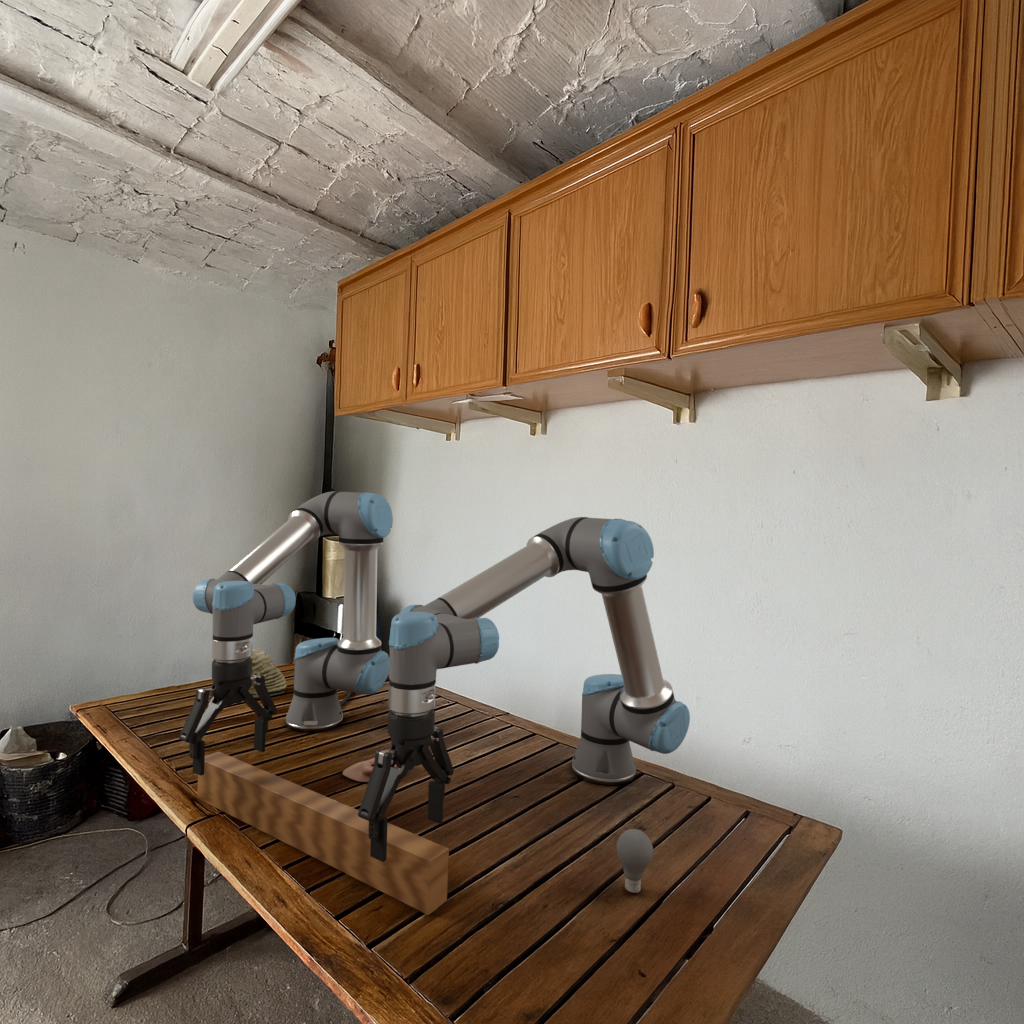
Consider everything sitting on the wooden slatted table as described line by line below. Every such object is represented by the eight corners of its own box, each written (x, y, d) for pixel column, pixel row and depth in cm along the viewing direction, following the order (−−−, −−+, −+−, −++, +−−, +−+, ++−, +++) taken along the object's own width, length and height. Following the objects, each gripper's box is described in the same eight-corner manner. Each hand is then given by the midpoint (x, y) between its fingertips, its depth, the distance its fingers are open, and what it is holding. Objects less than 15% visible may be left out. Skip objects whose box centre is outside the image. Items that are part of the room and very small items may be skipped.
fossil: (218, 695, 195) (220, 647, 195) (278, 685, 208) (279, 640, 207) (228, 703, 189) (230, 653, 188) (289, 692, 201) (290, 645, 201)
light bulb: (610, 879, 108) (613, 822, 108) (644, 879, 109) (647, 822, 109) (619, 902, 102) (622, 840, 102) (655, 901, 103) (658, 840, 103)
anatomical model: (336, 761, 142) (359, 742, 153) (336, 778, 142) (358, 758, 153) (392, 768, 139) (411, 749, 151) (391, 786, 139) (410, 765, 151)
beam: (197, 798, 131) (198, 758, 131) (217, 790, 135) (218, 751, 134) (428, 915, 97) (430, 861, 97) (446, 900, 101) (449, 848, 101)
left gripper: (182, 675, 116) (180, 789, 117) (295, 649, 137) (293, 745, 138) (160, 668, 120) (158, 778, 121) (273, 643, 141) (271, 737, 142)
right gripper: (372, 738, 90) (368, 885, 90) (475, 694, 111) (472, 813, 111) (336, 726, 94) (332, 867, 94) (442, 686, 115) (439, 801, 115)
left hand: (230, 761), depth 129 cm, fingers open, 13 cm apart
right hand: (408, 838), depth 103 cm, fingers open, 13 cm apart
